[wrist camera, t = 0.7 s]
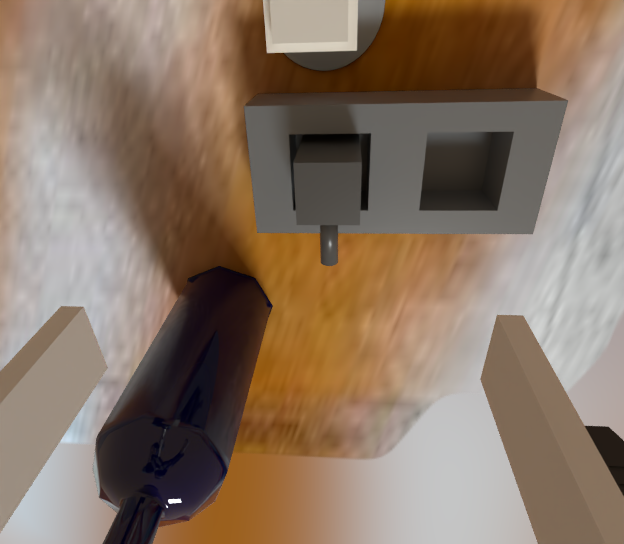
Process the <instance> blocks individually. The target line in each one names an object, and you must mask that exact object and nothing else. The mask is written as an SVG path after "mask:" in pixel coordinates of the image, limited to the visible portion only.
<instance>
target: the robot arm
mask: <svg viewBox="0 0 624 544" xmlns="http://www.w3.org/2000/svg"><path fill="white" fill-rule="evenodd" d="M107 368H108V367H107V365H106V362H105V360H104V357H103V355H102V352H101V350H100V347H99V345H98V342H97V339H96V337H95V334H94V332H93V329H92V327H91V324H90V322H89V319H88V317H87V314H86V312H85V309H84V307H68V306H61V307H60V308H59V309H58V310H57V311H56V312H55V314H54V315H53V316H52V317H51V318H50V319H49V320H48V321H47V322H46V323H45V324H44V325H43V326H42V327H41V329H40V330H39V331H38V332H37V333H36V334H35V335H34V336H33V337H32V338H31V339H30V340H29V341H28V343H27V344H26V345H25V346H24V347H23V348H22V349H21V350H20V351H19V352H18V353H17V354H16V355H15V356H14V358H13V359H12V360H11V361H10V362H9V363H8V364H7V365H6V366H5V367H4V368H3V369H2V370H1V371H0V533H1V531H2V530H3V528H4V527H5V525H6V523H7V522H8V520H9V519H10V517H11V516H12V514H13V513H14V511H15V510H16V508H17V507H18V505H19V503H20V502H21V500H22V499H23V497H24V496H25V494H26V492H27V491H28V490H29V488H30V487H31V485H32V483H33V482H34V480H35V479H36V477H37V476H38V474H39V472H40V471H41V470H42V468H43V466H44V465H45V463H46V462H47V460H48V459H49V457H50V456H51V454H52V453H53V451H54V450H55V448H56V447H57V445H58V443H59V442H60V440H61V439H62V437H63V436H64V434H65V433H66V431H67V430H68V428H69V427H70V425H71V423H72V422H73V420H74V419H75V417H76V416H77V414H78V413H79V411H80V410H81V408H82V407H83V405H84V403H85V402H86V400H87V399H88V397H89V396H90V394H91V393H92V391H93V390H94V388H95V387H96V385H97V383H98V382H99V380H100V379H101V377H102V376H103V374H104V373H105V371H106V370H107ZM481 382H482V385H483V388H484V391H485V394H486V397H487V399H488V402H489V405H490V408H491V411H492V413H493V417H494V419H495V422H496V425H497V428H498V431H499V434H500V436H501V439H502V442H503V445H504V448H505V451H506V453H507V456H508V459H509V462H510V465H511V468H512V471H513V473H514V476H515V479H516V482H517V485H518V488H519V491H520V494H521V496H522V499H523V502H524V505H525V508H526V511H527V514H528V516H529V519H530V522H531V525H532V528H533V531H534V534H535V536H536V539H537V542H538V544H624V441H623V440H622V439H621V438H620V437H619V436H618V435H617V434H616V433H615V432H614V431H612V430H611V429H610V428H609V427H602V426H601V427H600V426H584V424H583V422H582V421H581V419H580V417H579V415H578V413H577V412H576V410H575V408H574V406H573V405H572V403H571V401H570V399H569V397H568V395H567V394H566V392H565V390H564V388H563V386H562V385H561V383H560V381H559V379H558V377H557V376H556V374H555V372H554V370H553V368H552V367H551V365H550V363H549V361H548V359H547V358H546V356H545V354H544V352H543V350H542V349H541V347H540V345H539V343H538V341H537V340H536V338H535V336H534V334H533V332H532V331H531V329H530V327H529V325H528V323H527V322H526V320H525V318H524V316H517V315H497V318H496V321H495V325H494V329H493V333H492V337H491V341H490V344H489V348H488V352H487V356H486V360H485V364H484V368H483V371H482V375H481Z"/></svg>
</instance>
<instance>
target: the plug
mask: <svg viewBox="0 0 624 544" xmlns="http://www.w3.org/2000/svg"><path fill="white" fill-rule="evenodd" d="M263 7H264V20H265V33H266V47H267V53H289V52H326V51H357V24H358V0H263Z"/></svg>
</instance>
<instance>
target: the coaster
mask: <svg viewBox="0 0 624 544" xmlns="http://www.w3.org/2000/svg"><path fill="white" fill-rule="evenodd" d="M384 6H385V0H358V24H357V51H326V52H289V53H284V54H285V55H286V56H288V57H289V58H290V59H291V60H293V61H294V62H295V63H297V64H299V65H301V66H303V67H306V68H309V69H313V70H321V71H326V70H334V69H338V68H341V67H343V66H346V65H348V64H350V63H351V62H353V61H354V60H356V59H357V58H358V57H360V56H361V55H362V54H363V53H364V52H365V51H366V50H367V48H368V47H369V46H370V45H371V43H372V41H373V40H374V38H375V36H376V34H377V32H378V30H379V28H380V25H381V22H382V18H383V13H384Z"/></svg>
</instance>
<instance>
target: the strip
mask: <svg viewBox="0 0 624 544" xmlns="http://www.w3.org/2000/svg"><path fill="white" fill-rule="evenodd" d="M567 103H568V100H566V99H563V98H561V97H558V96H556V95H553V94H550V93H548V92H545V91H543V90H540V89H538V88H522V89H473V90H424V91H374V92H325V93H276V94H257V95H256V96H255V97H254V98H253V99H252V100H250V101H249V102H248V103H247V104H246V105H245V106H244V112H245V121H246V131H247V140H248V150H249V159H250V168H251V178H252V187H253V197H254V206H255V216H256V225H257V233H320V245H321V263H322V264H323V265H326V266H333V265H335V264H337V263H338V233H411V234H533V232H534V228H535V224H536V220H537V217H538V213H539V209H540V205H541V201H542V198H543V194H544V190H545V186H546V182H547V179H548V175H549V171H550V167H551V164H552V160H553V156H554V152H555V148H556V145H557V141H558V137H559V133H560V130H561V126H562V122H563V118H564V114H565V111H566V107H567Z"/></svg>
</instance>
